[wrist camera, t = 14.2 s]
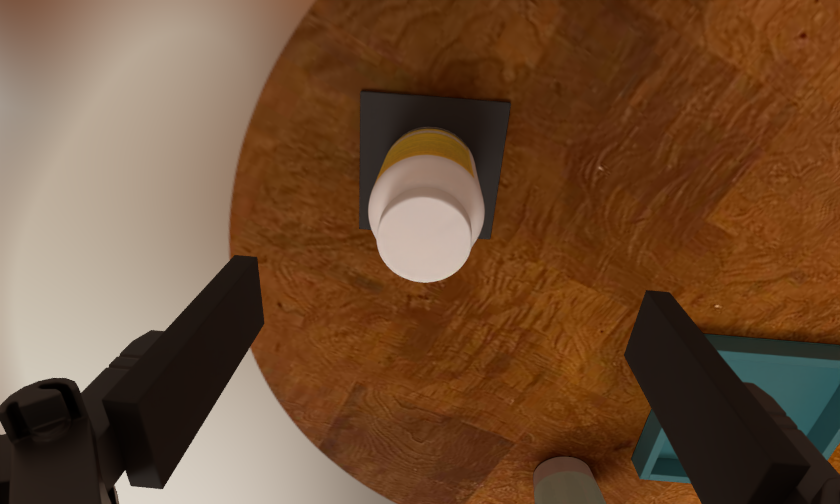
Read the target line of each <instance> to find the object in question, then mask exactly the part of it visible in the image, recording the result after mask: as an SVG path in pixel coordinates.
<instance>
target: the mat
mask: <svg viewBox="0 0 840 504" xmlns="http://www.w3.org/2000/svg"><path fill="white" fill-rule="evenodd" d="M510 106H511V103H510V102H499V101H487V100H474V99H461V98H448V97H436V96H423V95H410V94H397V93H385V92H372V91H361V94H360V208H359V229H368V230H372V229H371V226H370V222H369V215H368V206H369V200H370V195H371V192H372V190H373V187H374V185H375V182H376V180H377V177H378V175H379V172H380V170H381V167H382V165H383V163H384V160H385V158H386V156H387V153H388V151H389V150H390V148H391V147H392V145H393V144H394V143H395V142H396V141H397V140H398V139H399V138H400V137H401V136H403V135H404V134H406V133H407V132H409V131H412V130H414V129H418V128H423V127H436V128H441V129H445V130H447V131H449V132H451V133H453V134H455V135H456V136H458V137H459V138H460V139H461V140H462V141H463V142H464V143H465V144H466V145H467V147H468V148H469V150H470V152H471V154H472V156H473V159H474V162H475V167H476V172H477V176H478V180H479V184H480V188H481V192H482V196H483V201H484V209H485V214H484V222H483V226H482V229H481V232H480V234H479V236H478V238H479V239H490V237H491V230H492V223H493V217H494V210H495V204H496V197H497V191H498V184H499V178H500V171H501V165H502V158H503V152H504V145H505V139H506V132H507V126H508V119H509V113H510Z"/></svg>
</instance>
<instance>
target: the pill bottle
mask: <svg viewBox="0 0 840 504" xmlns="http://www.w3.org/2000/svg"><path fill="white" fill-rule="evenodd" d="M484 214H485V209H484V201H483V196H482V192H481V188H480V184H479V180H478V176H477V172H476V167H475V162H474V159H473V156H472V154H471V152H470V150H469V148H468V147H467V145H466V144H465V143H464V142H463V141H462V140H461V139H460V138H459V137H458V136H456V135H455V134H453V133H451V132H449V131H447V130H445V129H441V128H436V127H423V128H418V129H414V130H412V131H409V132H407V133H406V134H404V135H403V136H401V137H400V138H399V139H398V140H397V141H396V142H395V143H394V144H393V145H392V147H391V148H390V150H389V151H388V153H387V156H386V158H385V160H384V163H383V165H382V167H381V170H380V172H379V175H378V177H377V180H376V182H375V185H374V187H373V190H372V192H371V195H370V200H369V206H368V215H369V222H370V226H371V229H372V232H373V234H374V236H375V238H376V239H377V246H378V250H379V253H380V255H381V258H382V259H383V261H384V262H385V264H386V265H387V266H388V267H389V268H390V269H391V270H392V271H393V272H395V273H396V274H398V275H399V276H401V277H403V278H405V279H408V280H411V281H416V282H435V281H439V280H442V279H445V278H447V277H449V276H451V275H452V274H454V273H455V272H456V271H458V270H459V269H460V268H461V267H462V265H463V264H464V263H465V261H466V260H467V258H468V256H469V253H470V250H471V247H472V246H473V244H474V243H475V241H476V240H477V238H478V236H479V234H480V232H481V229H482V226H483V222H484Z"/></svg>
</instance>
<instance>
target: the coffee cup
mask: <svg viewBox="0 0 840 504" xmlns="http://www.w3.org/2000/svg"><path fill="white" fill-rule="evenodd" d="M533 482H534V497H535V504H606V502H605V500H604V498H603V495H602V493H601V491H600V489H599V487H598V485H597V483H596V481H595V479H594V477H593V474H592V472H591V470H590V468H589V467H588V465H587V464H586V463H584V462H583V461H581V460H579V459H576V458H573V457H556V458H552V459H549V460H546V461H545V462H543V463H541V464H540V465H539V466H538V467H537V468H536V470H535V472H534V475H533Z"/></svg>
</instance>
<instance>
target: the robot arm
mask: <svg viewBox="0 0 840 504" xmlns="http://www.w3.org/2000/svg"><path fill="white" fill-rule="evenodd" d="M263 325H264V315H263V306H262V297H261V288H260V279H259V270H258V261H257V257H251V256H239V255H234V257H233V258H232V259H231V260H230V261H229V262H228V263H227V264H226V265H225V266H224V268H222V270H221V271H220V272H219V273H218V274H217V275H216V276H215V277H214V278H213V279H212V281H211V282H210V283H209V284H208V285H207V286H206V287H205V288H204V289H203V290H202V291H201V293H199V295H198V296H197V297H196V298H195V299H194V300H193V301H192V302H191V303H190V305H188V306H187V308H186V309H185V310H184V311H183V312H182V313H181V314H180V315H179V316H178V317H177V318H176V320H175V321H174V322H173V323H172V324H171V325H170V326H169V327H168V328H167V329H166V330H165V331H154V330H151V331H149V332H147V333H146V334H144V335H142V336H141V337H139V338H137V339H135V340H134V341H132V342H131V343H130V344H129V345H128V346H127V347H126V348H125V349H124V350H123V351H122V352H121V353H120V356H119V357H116V358H115V359H114V361H112V362H111V364H109V368H106V369H105V370H104V371H102V372H101V374H99V376H98V377H97V378H96V379H95V380H94V381H93V382H92V383H91V384H90V385H89V386H88V387H87V388H86V389H85V390H84V391H83V392H82V393H80V391H79V388H78V386H77V384H76V383H75V381H72V380H69V379H66V378H51V379H47V380H42V381H38V382H36V383H33V384H31V385H28V386H25V387H23V388H22V389H20V390H18V391H17V392H15V393H13V394H12V395H10V396H9V397H8V398H7V399H6V400H5V401H4V402H3V403H2V404H1V405H0V422H1V424H2V426H3V428H4V429H5V432H6V434H4V435H0V504H119V501H118V495H117V491H116V489H115V486H114V484H115V483H116V482H117V480H118V479H119V478H120V476H121V475H122V473H123V472H124V471H125V470H126V473H127V476H128V479H129V482H130V485H131V486H137V487H146V488H156V489H157V488H158V489H163V488H164V486H165V484H166V483H167V481H168V480H169V478H170V476H171V475H172V473H173V471H174V470H175V468H176V467H177V465H178V463H179V462H180V460H181V458H182V457H183V455H184V453H185V452H186V450H187V449H188V447H189V445H190V444H191V442H192V440H193V439H194V437H195V436H196V434H197V432H198V431H199V429H200V427H201V426H202V424H203V423H204V421H205V419H206V418H207V416H208V414H209V413H210V411H211V410H212V408H213V406H214V405H215V403H216V401H217V400H218V398H219V396H220V395H221V393H222V391H223V390H224V388H225V387H226V385H227V383H228V382H229V380H230V379H231V377H232V375H233V374H234V372H235V370H236V369H237V367H238V366H239V364H240V362H241V360H242V359H243V357H244V356H245V354H246V352H247V351H248V349H249V348H250V346H251V344H252V343H253V341H254V340H255V338H256V336H257V335H258V333H259V331H260V330H261V328H262V326H263ZM624 356H625V358H626V360H627V362H628V364H629V366H630V368H631V370H632V372H633V373H634V375H635V377H636V379H637V381H638V383H639V385H640V387H641V389H642V391H643V393H644V394H645V396H646V398H647V400H648V402H649V404H650V406H651V408H652V410H653V412H654V413H655V415H656V417H657V419H658V421H659V423H660V425H661V427H662V429H663V431H664V432H665V434H666V436H667V438H668V440H669V442H670V444H671V446H672V448H673V450H674V452H675V453H676V455H677V457H678V459H679V461H680V463H681V465H682V467H683V469H684V471H685V472H686V474H687V476H688V478H689V480H690V482H691V484H692V486H693V488H694V490H695V492H696V493H697V495H698V497H699V499H700V501H701V503H702V504H840V475H839V474H838V472H837V471H836V470H835V469H834V468H833V467H832V465H831V464H830V463H829V462H828V461H827V460H826V458H825V457H824V456H823V455H822V454H821V453H820V452H819V450H818V449H817V448H816V447H815V446H814V445H813V443H812V442H811V441H810V440H809V439H808V438H807V436H806V435H805V434H804V433H803V432H802V431H801V430H798V426H797V425H796V424H795V423H794V421H793V420H792V419H791V418H790V417H789V416H786V412H785V411H784V410H783V409H782V408H781V406H780V405H779V404H778V403H777V402H776V401H775V399H774V398H773V397H772V396H770V395H769V394H768V393H766V392H765V391H763V390H762V389H761V388H759V387H758V386H757V385H755V384H754V383H749V382H742V381H741V379H740V378H739V377H738V376H737V375H736V373H735V372H734V371H733V370H732V368H731V367H730V366H729V365H728V364H727V362H726V361H725V360H724V359H723V357H722V356H721V355H720V354H719V352H718V351H717V350H716V349H715V348H714V346H713V345H712V344H711V343H710V341H709V340H708V339H707V338H706V337H705V335H704V334H703V333H702V332H701V330H700V329H699V328H698V327H697V326H696V324H695V323H694V322H693V321H692V319H691V318H690V317H689V316H688V314H687V313H686V312H685V311H684V310H683V308H682V307H681V306H680V305H679V303H678V302H677V301H676V300H675V299H674V297H673V296H672V295H671V294H670V292H660V291H648V290H646V292H645V295H644V298H643V301H642V304H641V307H640V310H639V313H638V316H637V319H636V322H635V325H634V327H633V330H632V333H631V336H630V339H629V342H628V345H627V348H626V351H625V354H624Z"/></svg>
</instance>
